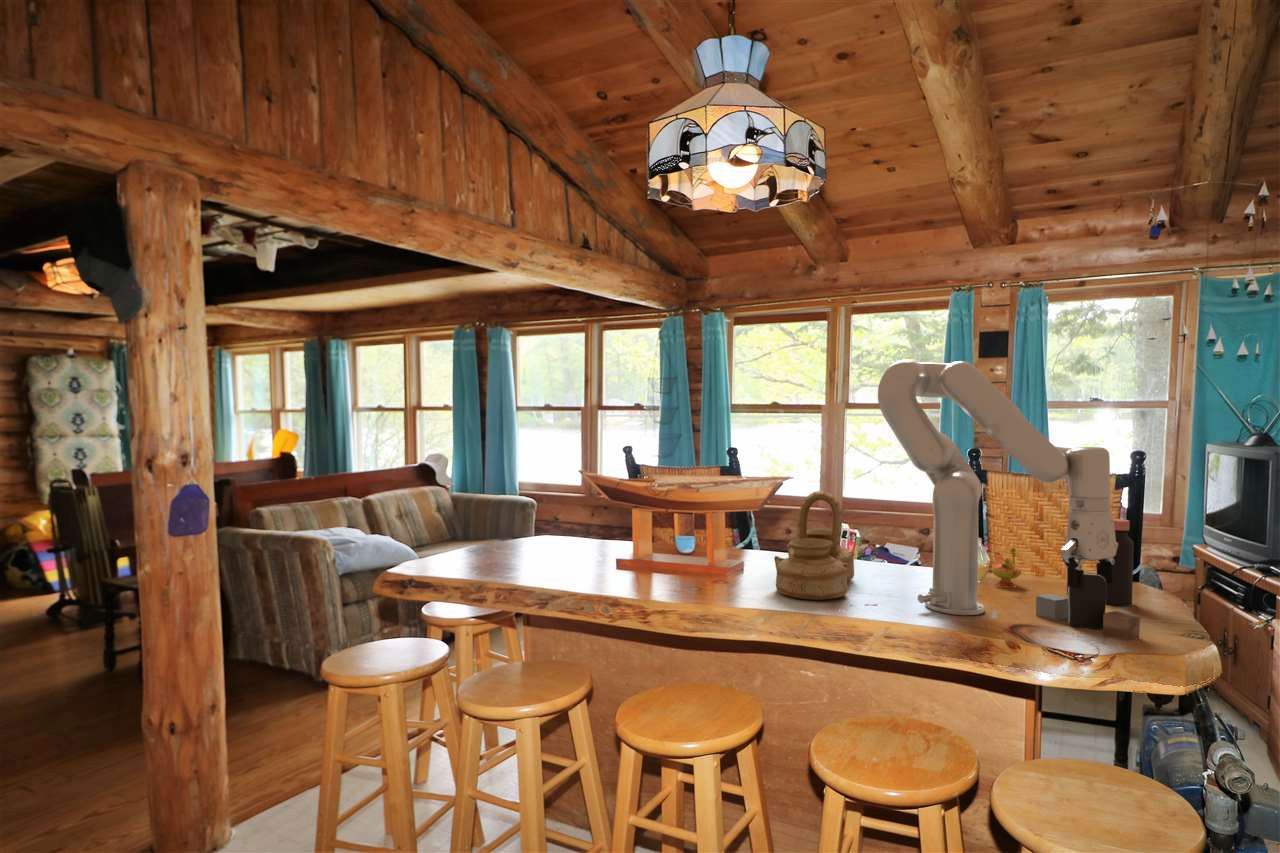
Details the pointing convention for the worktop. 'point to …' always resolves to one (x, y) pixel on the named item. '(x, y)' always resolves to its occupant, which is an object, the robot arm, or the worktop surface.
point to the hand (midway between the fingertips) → (1090, 585)
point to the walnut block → (1121, 625)
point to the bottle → (1121, 567)
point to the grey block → (1052, 606)
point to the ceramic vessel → (816, 557)
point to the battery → (1087, 602)
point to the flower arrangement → (1005, 569)
